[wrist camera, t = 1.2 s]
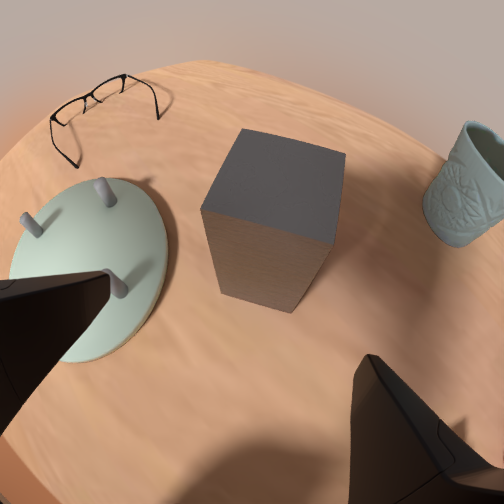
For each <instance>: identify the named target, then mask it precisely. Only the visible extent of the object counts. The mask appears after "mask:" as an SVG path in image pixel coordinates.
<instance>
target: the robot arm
mask: <svg viewBox="0 0 504 504" xmlns="http://www.w3.org/2000/svg"><path fill="white" fill-rule="evenodd" d="M110 295H111V281H110V275H109V274H108V273H105V272H103V271H100V270H99V271H89V272H79V273H69V274H59V275H49V276H39V277H29V278H19V279H9V280H0V436H1V435H2V433H3V432H4V431H5V429H6V428H7V426H8V425H9V424H10V422H11V421H12V419H13V418H14V417H15V415H16V414H17V413H18V411H19V410H20V409H21V407H22V406H23V405H24V403H25V402H26V401H27V399H28V398H29V397H30V396H31V394H32V393H33V392H34V390H35V389H36V388H37V387H38V385H39V384H40V383H41V382H42V381H43V379H44V378H45V377H46V376H47V375H48V373H49V372H50V371H51V370H52V369H53V367H54V366H55V365H56V364H57V363H58V361H59V360H60V359H61V358H62V357H63V356H64V355H65V353H66V352H67V351H68V350H69V349H70V348H71V347H72V345H73V344H74V343H75V342H76V341H77V340H78V339H79V338H80V337H81V335H82V334H83V333H84V332H85V331H86V330H87V329H88V327H89V326H90V325H91V323H92V322H93V321H94V319H95V318H96V317H97V315H98V314H99V313H100V311H101V310H102V309H103V307H104V306H105V305H106V304H107V302H108V301H109V299H110ZM350 426H351V455H350V485H349V501H348V504H504V469H501V468H497V467H494V466H493V465H491V464H489V463H488V462H487V461H486V460H484V459H483V458H482V457H481V456H480V455H479V454H478V453H476V452H475V451H474V450H473V449H472V448H471V447H470V446H468V445H467V444H466V443H465V442H464V441H463V440H462V439H461V438H460V437H458V436H457V435H456V434H455V433H454V432H453V431H452V430H451V429H450V428H449V427H448V426H447V425H446V424H445V423H444V422H443V421H442V420H441V419H439V417H438V416H437V415H436V414H435V413H434V412H433V410H432V409H431V408H430V407H429V406H428V405H427V404H426V403H425V402H424V401H423V400H422V399H421V398H420V397H419V396H418V395H417V394H416V393H415V392H414V391H413V390H412V389H411V388H410V387H409V386H408V385H407V384H406V383H405V382H404V381H403V380H402V379H401V378H400V377H399V376H398V375H397V374H396V373H395V372H394V371H393V370H392V369H391V368H390V367H389V366H388V365H387V364H386V363H385V362H384V361H383V360H382V359H381V358H380V357H379V356H377V355H372V354H367V355H365V356H364V358H363V360H362V361H361V363H360V365H359V367H358V368H357V370H356V372H355V374H354V378H353V392H352V404H351V416H350ZM0 504H11V503H10V502H9V501H8V500H7V499H6V498H5V497H4V496H3V495H2V494H1V493H0Z"/></svg>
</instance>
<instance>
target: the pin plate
mask: <svg viewBox="0 0 504 504" xmlns="http://www.w3.org/2000/svg"><path fill="white" fill-rule="evenodd" d="M20 223H21V224H22V225H23V226H24V227H25V228H26V230H25V231H24V233H23V235H22V237H21V239H20V241H19V243H18V245H17V248H16V251H15V253H14V257H13V260H12V264H11V269H10V275H9V279H19V278H29V277H39V276H49V275H59V274H69V273H79V272H89V271H99V270H100V271H103V272H105V273H108V274H109V275H110V281H111V295H110V299H109V301H108V302H107V304H106V305H105V306H104V307H103V309H102V310H101V311H100V313H99V314H98V315H97V317H96V318H95V319H94V321H93V322H92V323H91V325H90V326H89V327H88V329H87V330H86V331H85V332H84V333H83V334H82V335H81V337H80V338H79V339H78V340H77V341H76V342H75V343H74V344H73V345H72V347H71V348H70V349H69V350H68V351H67V352H66V353H65V355H64V356H63V357H62V358H61V359H60V360H59V361H63V362H67V363H85V362H91V361H94V360H97V359H100V358H103V357H105V356H107V355H109V354H111V353H113V352H114V351H116V350H117V349H119V348H120V347H121V346H123V345H124V344H125V343H126V342H127V341H128V340H130V339H131V338H132V337H133V336H134V335H135V334H136V332H137V331H138V330H139V329H140V328H141V326H142V325H143V324H144V323H145V321H146V320H147V318H148V316H149V315H150V313H151V312H152V310H153V308H154V306H155V304H156V302H157V300H158V298H159V295H160V292H161V290H162V287H163V284H164V280H165V276H166V271H167V264H168V240H167V233H166V229H165V226H164V223H163V220H162V218H161V216H160V214H159V211H158V209H157V207H156V205H155V204H154V202H153V201H152V200H151V198H150V197H149V196H148V195H147V194H146V193H145V192H144V191H143V190H142V189H140V188H139V187H137V186H136V185H134V184H132V183H130V182H127V181H124V180H120V179H114V178H105V177H100V178H98V179H92V180H88V181H84V182H81V183H79V184H76V185H74V186H72V187H70V188H68V189H66V190H64V191H63V192H61V193H60V194H58V195H57V196H55V197H54V198H53V199H51V200H50V201H49V202H48V203H47V204H46V205H45V206H44V207H43V208H42V209H41V210H40V211H39V212H38V213H37V214H36V215H35V217H34V218H32V217H31V216H30V215H29V214H28V212H25V213H23V214H22V216H21V217H20Z"/></svg>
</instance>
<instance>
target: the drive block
mask: <svg viewBox="0 0 504 504" xmlns="http://www.w3.org/2000/svg"><path fill="white" fill-rule="evenodd" d="M345 157H346V154H345V153H341V152H338V151H335V150H331V149H328V148H324V147H321V146H317V145H313V144H310V143H306V142H302V141H298V140H294V139H290V138H286V137H281V136H277V135H272V134H268V133H263V132H258V131H253V130H248V129H243V128H242V130H241V132H240V133H239V135H238V137H237V139H236V141H235V142H234V144H233V146H232V148H231V150H230V152H229V153H228V155H227V157H226V159H225V161H224V163H223V165H222V167H221V168H220V170H219V172H218V174H217V176H216V178H215V180H214V182H213V184H212V186H211V188H210V190H209V192H208V194H207V196H206V198H205V200H204V202H203V204H202V206H201V208H200V210H201V215H202V219H203V223H204V227H205V232H206V236H207V240H208V244H209V248H210V252H211V256H212V260H213V264H214V268H215V271H216V275H217V279H218V283H219V287H220V290H221V293H222V294H225V295H228V296H231V297H235V298H238V299H241V300H245V301H248V302H252V303H255V304H258V305H262V306H265V307H269V308H272V309H276V310H279V311H283V312H287V313H290V314H291V313H292V311H293V310H294V308H295V307H296V305H297V304H298V302H299V301H300V299H301V298H302V296H303V294H304V293H305V291H306V290H307V288H308V287H309V285H310V283H311V282H312V280H313V279H314V277H315V275H316V274H317V272H318V271H319V269H320V267H321V266H322V264H323V262H324V261H325V259H326V257H327V256H328V254H329V252H330V251H331V249H332V247H333V246H334V241H335V235H336V228H337V222H338V215H339V208H340V201H341V193H342V185H343V176H344V167H345Z"/></svg>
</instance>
